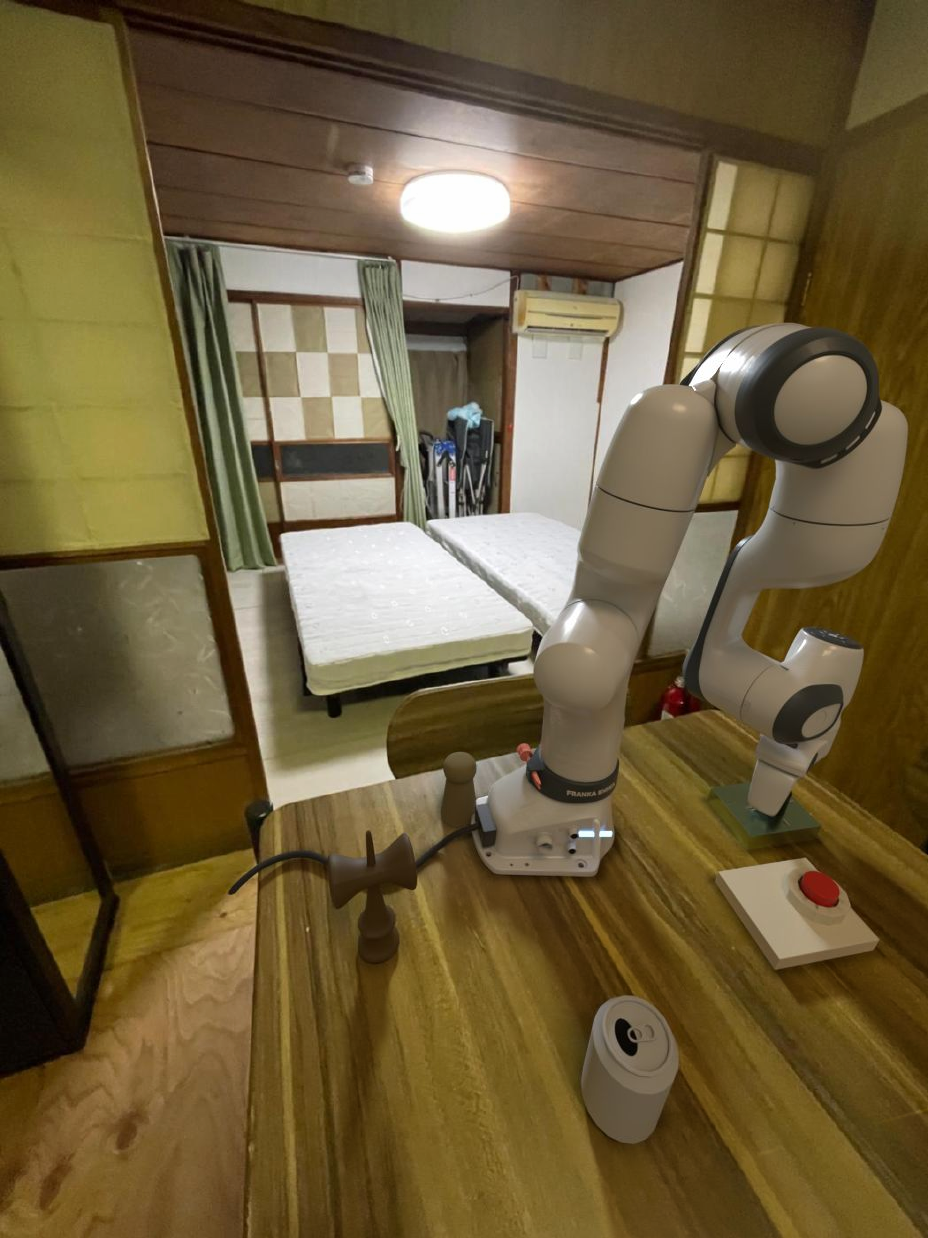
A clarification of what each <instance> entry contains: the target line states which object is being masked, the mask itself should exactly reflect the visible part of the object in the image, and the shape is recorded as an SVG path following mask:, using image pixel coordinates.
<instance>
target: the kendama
mask: <svg viewBox="0 0 928 1238" xmlns="http://www.w3.org/2000/svg"><path fill="white" fill-rule="evenodd" d="M365 855H366V856H363V857H351V856H347V855H343V854H339V853H335V852H331V853H329V854H328V856H327V858H328V862H327V866H326V869H327V880H328V889H329V894H330V898H331V903H332V905H333V907H334V908H335V910H340V909H342V908H343V907H344V906H345V905H347V904H348V903H349V902H350V901H351V900H352V899H353V898H355V896H357V895H358V894H359V893H361V892H363V891H364V890H366V900H365V907H364V910H362V911H361V912H360V913H359V916H358V918H357V929H358V931H359V936H358V938H357V949H358V952H359V955H360V957H361V958H362V959H363V960H364V961H365V962H367V963H371V964H379V963H384V962H385V961H388V960H390V959H391V958H392V957H393V956H394V955H395V954H396V953H397V952H398V949H399V946H400V933H399V930H398V928H397V926H395V925H396V923H397V921H396V920H397V918H396V913H395V910H394V909H393V907H391V906H390V905H389V904H386V901H385V899H384V895H383V892H382V888H381V885H385V884H390V885H394V886H397V887H400V888H403V889H406V890H409V891H414V890H416V889H417V887H418V868H416V863H415V862H416V857H415V852H414V849H413V845H412V842H411V839H410V837H409V836H408V834H407V833H406V832H402V833H401V834H400V835H399V836H398V837H396V838H395V840H394V841H392V842H391V843H390V845H388V847H386V848H385V849H384V850H383V851H381V852H378V853H375V846H374V840H373V834H372V831H371V830H369V829H368V830H366V831H365Z"/></svg>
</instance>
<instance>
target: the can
mask: <svg viewBox="0 0 928 1238" xmlns="http://www.w3.org/2000/svg"><path fill="white" fill-rule="evenodd" d="M678 1049H679V1048H678V1045H677V1042H676V1037H675V1036H674V1034H673V1032H672V1029H671V1027H670V1025H669V1023H668V1021H667V1020H666V1018H665V1016H664V1015H663V1014H662V1013H661V1012H660V1011H659V1009H658V1008H657V1007H655V1006H654V1005H653V1004H651V1002H649V1001H648V1000H646V999H644V998H641V997H639V996H637V995H628V994H624V995H623V994H622V995H620V996H616V997H613V998H610V999H608V1000H607V1001H605V1002H604V1003H603V1004H601V1006H600V1007H599V1008H598V1010H597V1012H596V1014H595V1016H594V1019H593V1023H592V1028H591V1032H590V1035H589V1040H588V1045H587V1049H586V1053H585V1058H584V1062H583V1068H582V1073H581V1077H580V1086H581V1096H582V1099H583V1102H584V1105H585V1108H586V1110H587V1112H588V1114H589V1116H590V1118H591V1119H592V1121H593V1122H594V1123H595V1125H596V1126H597V1127H598V1128H599V1129H600V1130H601V1131H602V1132H603V1133H604V1134H605V1135H606V1136H607V1137H609V1138H611V1139H613V1140H615V1141H617V1142H619V1143H623V1144H629V1145H631V1144H632V1145H635V1144H638V1143H640V1142H643V1141H646V1140H647V1139H648V1138H649V1137H650V1135H652V1134H653V1133H654V1131H655V1129H656V1126H657V1124H658V1121H659V1119H660V1116H661V1115H662V1111H663V1109H664V1107H665V1103H666V1101H667V1098H668V1096H669V1093H670V1092H671V1091H670V1090H671V1088H672V1086H673V1084H674V1081H675V1078H676V1077H677V1073H678V1071H679V1050H678Z"/></svg>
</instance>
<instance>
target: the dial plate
mask: <svg viewBox="0 0 928 1238" xmlns="http://www.w3.org/2000/svg"><path fill="white" fill-rule="evenodd" d="M751 782H752V781H750V782H744V783H735V784H729V785H728V784H727V785H720V786H713V787H712V786H711V788H710V790H709V793H708V797H707V802H708V804H709V805H710V806H711V807H712V809H713V810H714V811H715V813H716V814H717V815H718V816H719V818H720V819H721V820H722V821H723V823H724V824H725V825H726V826H727V828H728V830H730V831H731V833H732V834H733V835H734V837H735V838H736V839H737V841H739V843H740V844H741V845H742V846H743V848H744V849H745V850H746V851H751V850H757V849H764V848H768V847H769V848H770V847H777V846H782V845H788V844H789V845H790V844H795V843H802V842H807V841H814V840H816V839H817V838H818V835H819V832H820V830H821V828H822V825H821V823H820V822H819V821H817V820H816V818H815V817H814V816H813V815H812V814H811V813H810V812H809V811H808V810H806V808H804V807H803V806H802V804H800V802H798V800H796V798H795V797H794V796H793V795H792V796H791V799H790V801H789V804H788V806H787V809H786V811H785V813H784V814H782V815H775V816H773V817H772V816H769V815H767V814H764V813H762V812H760V811H758V810H757V809H755V808H753V807H751V806H750V805H749V803H748V796H749V791H750V786H751Z"/></svg>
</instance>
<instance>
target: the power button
mask: <svg viewBox="0 0 928 1238" xmlns="http://www.w3.org/2000/svg"><path fill="white" fill-rule="evenodd" d="M817 871H818V870H817ZM817 871H808V872H806V873H805V874H804V876H803V878H802V881H801V883H800V888H801V891H802V893H803V894H804V895H805V896H806V897H807V898H808V899H809V900H810V901H812V902H813V903H815V904H817V905H819V906H823V907H831V906H833V905H834V904H835V902H836V900H837V899H838V897H839V894H840V890H839V887H838V886H837V884H838V883H837V884H836V883H835V882H834V881H835V880H834V879H833V878H831V877H830V876H829V875H827V874H825V873H823V872H821V871H820V872H817ZM832 879H833V880H834V881H833V880H832Z"/></svg>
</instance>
